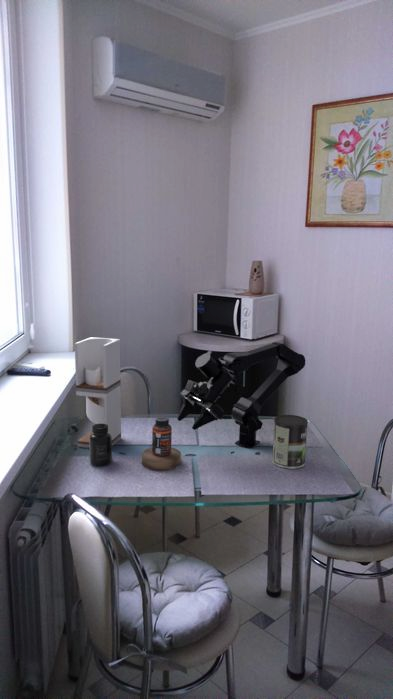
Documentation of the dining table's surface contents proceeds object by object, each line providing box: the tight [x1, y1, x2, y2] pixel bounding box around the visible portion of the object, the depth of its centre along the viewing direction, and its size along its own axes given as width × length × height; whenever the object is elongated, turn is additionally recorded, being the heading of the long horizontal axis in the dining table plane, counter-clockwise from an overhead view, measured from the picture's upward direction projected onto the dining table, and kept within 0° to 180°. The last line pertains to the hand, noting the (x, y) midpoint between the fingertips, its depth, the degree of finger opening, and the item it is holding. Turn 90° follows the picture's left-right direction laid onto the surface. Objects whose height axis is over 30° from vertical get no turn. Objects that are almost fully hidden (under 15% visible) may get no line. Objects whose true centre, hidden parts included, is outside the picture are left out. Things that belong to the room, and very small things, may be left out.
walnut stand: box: [141, 446, 182, 472], centre depth 170 cm, size 12×12×3 cm
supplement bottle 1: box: [89, 424, 113, 468], centre depth 168 cm, size 7×7×12 cm
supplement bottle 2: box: [151, 416, 173, 456], centre depth 168 cm, size 6×6×11 cm
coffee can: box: [271, 414, 309, 470], centre depth 171 cm, size 10×10×14 cm
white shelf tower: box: [74, 336, 122, 449], centre depth 182 cm, size 11×11×35 cm
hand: (185, 424), depth 172 cm, fingers open, 9 cm apart
